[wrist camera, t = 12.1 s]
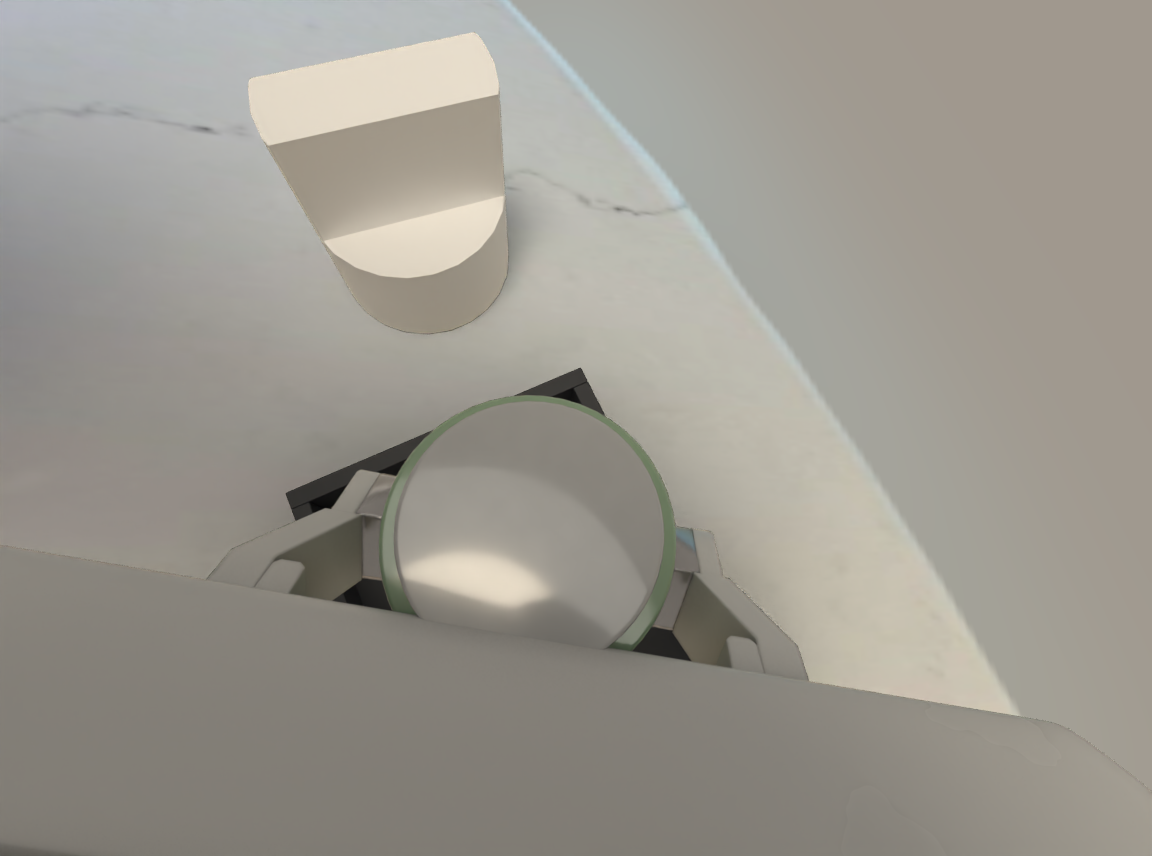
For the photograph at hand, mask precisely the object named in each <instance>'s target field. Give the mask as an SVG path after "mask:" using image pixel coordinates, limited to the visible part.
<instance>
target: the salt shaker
mask: <svg viewBox="0 0 1152 856" xmlns="http://www.w3.org/2000/svg"><path fill="white" fill-rule="evenodd" d="M378 544H379V565H380V571H381V577H382V582H383V586H384V589H385V592H386V596H387V599H388V602H389V604H390V606H391V609H392V611H396V612H402V613H408V614H414V615H417V616H418V617H419V618H421V619H424V620H427V621H433V622H439V623H445V624H451V625H457V626H463V627H469V628H475V629H481V630H486V631H492V632H498V633H504V634H510V635H516V636H522V637H528V638H534V639H540V640H546V641H552V642H558V643H564V644H570V645H575V646H581V647H587V648H593V649H606V648H608V647H609V648H615V649H621V650H627V651H633V650H634V649H635V648H636V647H637V646H638V644H639V643H640V642H641V641H642V640H643V639H644V637H645V636H646V634H647V633H648V632H649V630H650V629H651V627H652V626H653V625H654V623H655V621H656V619H657V617H658V615H659V613H660V611H661V610H662V608H663V606H664V603H665V600H666V598H667V595H668V592H669V589H670V586H671V582H672V577H673V573H674V569H675V559H676V549H677V548H676V527H675V521H674V514H673V509H672V506H671V502H670V499H669V495H668V492H667V490H666V488H665V485H664V483H663V481H662V478H661V476H660V474H659V472H658V471H657V469H656V467H655V466H654V464H653V462H652V461H651V459H650V458H649V456H648V455H647V454H646V453H645V451H644V450H643V449H642V447H641V446H640V445H639V444H638V443H637V442H636V441H635V440H634V439H633V438H632V437H631V436H630V435H629V434H628V433H627V432H626V431H625V430H624V429H622V428H621V427H620V426H618V425H617V424H616V423H615V422H613V421H612V420H610V419H609V418H607V417H605V416H604V415H602V414H600V413H598V412H597V411H595V410H592V409H590V408H588V407H586V406H583V405H581V404H578V403H575V402H571V401H568V400H565V399H560V398H554V397H548V396H535V395H522V396H510V397H504V398H499V399H495V400H490V401H487V402H484V403H481V404H478V405H475V406H473V407H470V408H468V409H466V410H464V411H462V412H460V413H458V414H456V415H454V416H453V417H451V418H450V419H448V420H447V421H445V422H444V423H442V424H441V425H439V426H438V427H437V428H436V429H435V430H433V431H432V432H431V433H430V434H429V435H428V436H427V437H425V438H424V439H423V441H422V442H421V443H420V444H419V445H418V446H417V447H416V448H415V449H414V450H413V452H412V453H411V454H410V456H409V457H408V459H407V460H406V461H405V463H404V464H403V466H402V467H401V469H400V471H399V472H398V474H397V476H396V478H395V480H394V482H393V484H392V486H391V489H390V491H389V494H388V497H387V500H386V502H385V505H384V510H383V514H382V519H381V523H380V533H379V543H378Z"/></svg>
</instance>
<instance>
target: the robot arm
mask: <svg viewBox="0 0 1152 856" xmlns="http://www.w3.org/2000/svg"><path fill="white" fill-rule="evenodd" d="M395 478H396V476H394V475H388V474H383V473H382V474H381V473H378V472H372V471H367V470H359V471H357V472H356V473H355V475H354V476H353V478H352V479H351V481H350V482H349V484H348V485H347V487H346V488H345V490H344V491H343V492H342V494H341V495H340V497H339V498H338V500H337V501H336V503H335V504H334V506H333V507H332V509H328V508H324V509H322V510H320V511H318V512H315V513H313V514H311V515H308V516H306V517H304V518H301V519H299V520H297V521H295V522H292V523H290V524H288V525H285V526H283V527H281V528H278V529H276V530H274V531H272V532H269V533H267V534H265V535H262V536H260V537H258V538H255V539H253V540H251V541H249V542H246V543H244V544H242V545H239V546H237V547H235V548H232V549H231V550H230V551H229V553H228V554H227V555H226V556H225V557H224V559H223V560H222V561H221V562H220V563H219V565H218V566H217V567H216V568H215V569H214V571H213V572H212V573H211V574H210V575H209V577H208V578H207V579H200V578H194V577H188V576H182V575H176V574H170V573H164V572H158V571H152V570H147V569H141V568H135V567H129V566H123V565H117V564H111V563H105V562H99V561H93V560H87V559H81V558H75V557H69V556H63V555H57V554H51V553H46V552H40V551H34V550H28V549H22V548H16V547H10V546H4V545H0V856H1152V791H1151V790H1150V789H1149V788H1148V787H1146V786H1145V785H1144V784H1143V783H1141V782H1140V781H1139V780H1138V779H1137V778H1135V777H1134V776H1133V775H1132V774H1131V773H1129V772H1128V771H1127V770H1125V769H1124V768H1123V767H1121V766H1120V765H1119V764H1117V763H1116V762H1115V761H1113V760H1112V759H1111V758H1109V757H1108V756H1107V755H1105V754H1104V753H1103V752H1101V751H1100V750H1099V749H1097V748H1096V747H1095V746H1093V745H1092V744H1091V743H1089V742H1088V741H1086V740H1085V739H1084V738H1082V737H1081V736H1079V735H1077V734H1076V733H1075V732H1073V731H1072V730H1070V729H1069V728H1066V727H1064V726H1061V725H1059V724H1056V723H1052V722H1049V721H1043V720H1038V719H1031V718H1026V717H1020V716H1014V715H1008V714H1002V713H996V712H990V711H984V710H978V709H972V708H966V707H960V706H954V705H948V704H942V703H936V702H930V701H924V700H918V699H912V698H906V697H900V696H894V695H888V694H882V693H876V692H870V691H865V690H859V689H853V688H847V687H841V686H835V685H829V684H823V683H817V682H811V681H809V679H808V676H807V673H806V670H805V667H804V663H803V660H802V657H801V654H800V651H799V648H798V646H797V645H796V644H795V643H794V642H793V641H792V640H791V639H790V638H789V637H788V636H787V635H786V634H785V633H784V632H783V631H782V630H781V629H780V628H779V627H778V626H777V625H776V624H775V623H774V622H773V621H772V620H771V619H770V618H769V617H768V616H767V615H766V614H765V613H764V612H763V611H762V610H761V609H760V608H759V607H758V606H757V605H756V604H755V603H754V602H753V601H752V600H751V599H750V598H749V597H748V596H746V595H745V594H744V593H743V592H742V591H741V590H740V589H739V588H738V587H737V586H736V585H735V584H734V583H733V582H732V581H731V580H730V579H729V578H724V577H723V574H722V569H721V565H720V560H719V556H718V552H717V547H716V543H715V539H714V534H713V533H712V532H711V531H707V530H701V529H694V528H690V529H689V528H683V527H677V526H675V527H676V548H677V549H676V559H675V569H674V573H673V577H672V582H671V586H670V589H669V592H668V595H667V598H666V600H665V603H664V606H663V608H662V610H661V611H660V613H659V615H658V617H657V619H656V621H655V623H654V625H653V626H652V627H657V628H662V629H667V630H672V631H673V632H672V633H673V634H674V636H675V637H676V639H677V640H678V642H679V643H680V645H681V646H682V648H683V649H684V651H685V652H686V653H687V655H688V656H689V658H690V659H691V661H687V660H681V659H675V658H669V657H663V656H657V655H651V654H645V653H639V652H633V651H627V650H621V649H615V648H609V647H608V648H606V649H593V648H587V647H581V646H575V645H570V644H564V643H558V642H552V641H546V640H540V639H534V638H528V637H522V636H516V635H510V634H504V633H498V632H492V631H486V630H481V629H475V628H469V627H463V626H457V625H451V624H445V623H439V622H433V621H427V620H424V619H421V618H419V617H418V616H417V615H414V614H408V613H402V612H396V611H390V610H384V609H378V608H372V607H366V606H360V605H354V604H348V603H342V602H336V601H332V600H334V599H335V598H337V597H338V596H339V595H341V594H342V593H344V592H345V591H346V590H348V589H349V588H351V587H352V586H354V585H355V584H356V583H358V582H359V581H361V580H362V578H367V579H374V580H381V581H382V577H381V571H380V565H379V544H378V543H379V533H380V523H381V519H382V514H383V510H384V505H385V502H386V500H387V497H388V494H389V491H390V489H391V486H392V484H393V482H394V480H395Z"/></svg>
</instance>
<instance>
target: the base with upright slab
mask: <svg viewBox="0 0 1152 856" xmlns="http://www.w3.org/2000/svg"><path fill="white" fill-rule="evenodd" d="M248 92H249V103H250V113H251V116H252V118H253V120H254V122H255V124H256V127H257V129H258V131H259V133H260V136H261V138H262V140H263V141H264V143H265V145H266V147H267V148H268V150H269V152H270V154H271V155H272V157H273V159H274V160H275V162H276V164H277V166H278V167H279V169H280V171H281V172H282V174H283V176H284V178H285V179H286V181H287V183H288V185H289V186H290V188H291V190H292V191H293V193H294V195H295V197H296V198H297V200H298V202H299V203H300V205H301V207H302V209H303V210H304V212H305V214H306V216H307V217H308V219H309V221H310V222H311V224H312V226H313V228H314V229H315V231H316V233H317V234H318V236H319V238H320V240H321V241H322V243H323V245H324V247H325V248H326V250H327V252H328V253H329V255H330V257H331V259H332V260H333V262H334V264H335V265H336V267H337V269H338V271H339V272H340V274H341V276H342V278H343V279H344V281H345V283H346V284H347V286H348V288H349V290H350V291H351V293H352V295H353V296H354V298H355V299H356V301H357V302H358V303H359V304H360V305H361V306H362V307H363V309H364V310H365V311H366V312H367V313H368V314H369V315H371V316H372V317H374V318H375V319H377V320H378V321H380V322H381V323H383V324H385V325H386V326H389V327H392V328H395V329H398V330H401V331H404V332H410V333H423V334H432V333H438V332H444V331H450V330H453V329H455V328H458V327H460V326H462V325H465V324H467V323H470V322H471V321H473V320H474V319H475V318H477V317H478V316H479V315H481V314H482V313H483V312H485V311H486V310H487V309H488V308H489V307H490V305H491V304H492V303H493V301H494V300H495V299H496V298H497V296H498V295H499V294H500V291H501V289H502V286H503V284H504V281H505V279H506V277H507V269H508V258H509V256H508V237H507V219H506V200H505V182H504V163H503V145H502V127H501V108H500V90H499V83H498V78H497V73H496V69H495V64H494V60H493V59H492V57H491V55H490V53H489V52H488V50H487V48H486V46H485V45H484V43H483V41H482V39H481V38H480V37H479V36H478V35H477V34H476V33H475V32H473V33H468V34H463V35H458V36H453V37H449V38H444V39H439V40H434V41H429V42H424V43H419V44H414V45H410V46H405V47H400V48H395V49H390V50H385V51H380V52H376V53H371V54H366V55H361V56H356V57H351V58H346V59H342V60H337V61H332V62H327V63H322V64H317V65H312V66H307V67H303V68H298V69H293V70H288V71H283V72H278V73H273V74H269V75H264V76H259V77H254V78H250V80H249V84H248Z"/></svg>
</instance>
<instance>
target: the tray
mask: <svg viewBox="0 0 1152 856" xmlns="http://www.w3.org/2000/svg"><path fill="white" fill-rule="evenodd" d="M522 395H535V396H548V397H554V398H560V399H565V400H568V401H571V402H575V403H578V404H581V405H583V406H586V407H588V408H590V409H592V410H595V411H597V412H598V413H600V414H602V415H604V416H605V414H604V412H603V411H602V409H601V407H600V405H599V403H598V401H597V399H596V397H595V395H594V393H593V391H592V389H591V387H590V385H589V383H588V382H587V379H586V377H585V375H584V373H583V371H582V369H581V368H578V369H576V370H574V371H571V372H569V373H567V374H564V375H562V376H559V377H557V378H555V379H552V380H550V381H548V382H545V383H543V384H541V385H538V386H536V387H534V388H531V389H529V390H527V391H524V392H522V393H519V394H517V395H515V396H522ZM605 417H606V416H605ZM432 431H433V430H432ZM432 431H430V432H428V433H425V434H423V435H421V436H418V437H416V438H414V439H411V440H409V441H407V442H404V443H402V444H400V445H397V446H395V447H393V448H390V449H388V450H385V451H383V452H381V453H378V454H376V455H374V456H371V457H369V458H367V459H364V460H362V461H360V462H357V463H355V464H353V465H350V466H348V467H345V468H343V469H341V470H338V471H336V472H334V473H331V474H329V475H327V476H324V477H322V478H320V479H317V480H315V481H313V482H310V483H308V484H306V485H303V486H301V487H298V488H296V489H294V490H291V491H289V492H287V493H286V496H287V499H288V501H289V504H290V507H291V509H292V512H293V515H294V517H295V520H296V521H297V520H299V519H301V518H304V517H306V516H308V515H311V514H313V513H315V512H318V511H320V510H322V509H324V508H328V509H332V507H333V506H334V504H335V503H336V501H337V500H338V498H339V497H340V495H341V494H342V492H343V491H344V490H345V488H346V487H347V485H348V484H349V482H350V481H351V479H352V478H353V476H354V475H355V473H356V472H357V471H359V470H367V471H372V472H378V473H381V474H382V473H383V474H388V475H394V476H397V474H398V472H399V471H400V469H401V467H402V466H403V464H404V463H405V461H406V460H407V459H408V457H409V456H410V454H411V453H412V452H413V450H414V449H415V448H416V447H417V446H418V445H419V444H420V443H421V442H422V441H423V439H424V438H425V437H427V436H428V435H429V434H430V433H431V432H432ZM332 601H336V602H342V603H348V604H354V605H360V606H366V607H372V608H378V609H384V610H390V611H392V609H391V606H390V604H389V602H388V599H387V596H386V592H385V589H384V586H383V582H382V581H381V580H374V579H367V578H362V580H361V581H359V582H358V583H356V584H355V585H354V586H352V587H351V588H349V589H348V590H346V591H345V592H344V593H342V594H341V595H339V596H338V597H337V598H335V599H334V600H332ZM672 632H673V631H672V630H667V629H662V628H657V627H651V629H650V630H649V632H648V633H647V634H646V636H645V637H644V639H643V640H642V641H641V642H640V643H639V644H638V646H637V647H636V648H635V649H634V650H633V652H639V653H645V654H651V655H657V656H663V657H669V658H675V659H681V660H687V661H691V659H690V658H689V656H688V655H687V653H686V652H685V651H684V649H683V648H682V646H681V645H680V643H679V642H678V640H677V639H676V637H675V636H674V634H673V633H672Z"/></svg>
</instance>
